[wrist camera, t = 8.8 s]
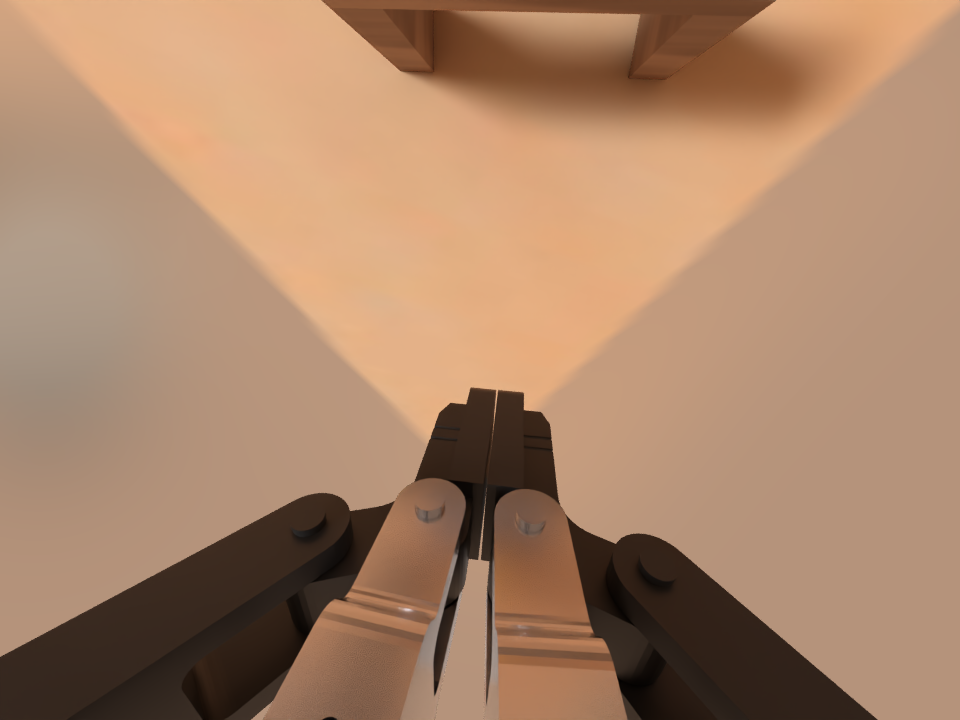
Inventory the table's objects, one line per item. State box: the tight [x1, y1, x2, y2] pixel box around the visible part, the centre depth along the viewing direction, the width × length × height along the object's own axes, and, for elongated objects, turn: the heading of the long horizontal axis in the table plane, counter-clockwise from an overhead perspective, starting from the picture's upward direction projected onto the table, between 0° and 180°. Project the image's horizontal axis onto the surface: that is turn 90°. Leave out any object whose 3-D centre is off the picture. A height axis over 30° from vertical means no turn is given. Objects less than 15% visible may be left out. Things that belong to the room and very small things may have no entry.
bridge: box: [322, 0, 776, 79], centre depth 15 cm, size 3×15×10 cm, turn 87°
